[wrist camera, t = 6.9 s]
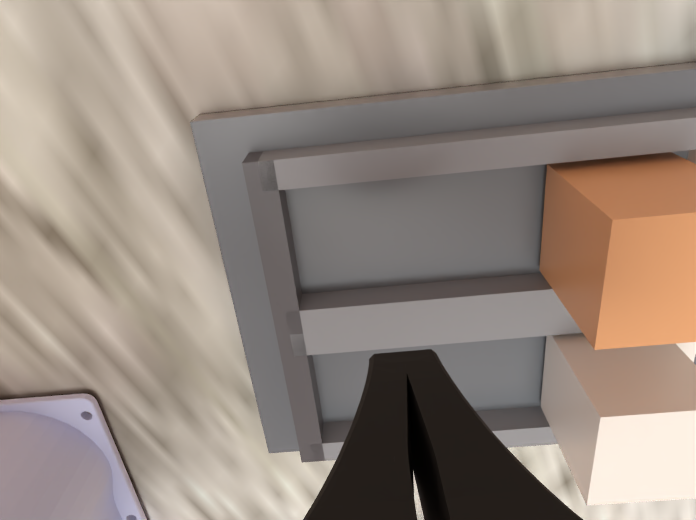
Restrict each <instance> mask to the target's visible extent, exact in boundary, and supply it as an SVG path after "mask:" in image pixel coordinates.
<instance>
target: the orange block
mask: <svg viewBox="0 0 696 520" xmlns="http://www.w3.org/2000/svg"><path fill="white" fill-rule="evenodd" d="M539 270H540V272H541V273H542V275H543V276H544V278H545V279H546V280H547V282H548V283H549V285H550V286H551V288H552V289H553V291H554V292H555V293H556V295H557V296H558V298H559V299H560V301H561V302H562V304H563V305H564V307H565V308H566V309H567V311H568V312H569V314H570V315H571V317H572V318H573V320H574V321H575V322H576V324H577V325H578V327H579V328H580V330H581V331H582V333H583V334H584V335H585V337H586V338H587V340H588V341H589V343H590V344H591V346H592V347H593V348H594V350H601V349H613V348H626V347H638V346H651V345H663V344H675V343H688V342H696V164H695V163H693V162H691V161H689V160H686V159H684V158H682V157H680V156H678V155H676V154H674V153H672V152H666V153H656V154H645V155H635V156H625V157H615V158H605V159H594V160H584V161H574V162H564V163H553V164H547V172H546V186H545V200H544V213H543V227H542V241H541V254H540V268H539Z"/></svg>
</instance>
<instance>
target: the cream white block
mask: <svg viewBox="0 0 696 520" xmlns="http://www.w3.org/2000/svg"><path fill="white" fill-rule="evenodd" d="M541 408H542V410H543V412H544V415H545V417H546V419H547V421H548V423H549V425H550V428H551V430H552V432H553V434H554V436H555V438H556V440H557V443H558V445H559V447H560V449H561V451H562V453H563V455H564V458H565V460H566V462H567V464H568V466H569V468H570V471H571V473H572V475H573V477H574V479H575V481H576V483H577V486H578V488H579V490H580V492H581V494H582V496H583V498H584V501H585V503H586V505H602V504H617V503H632V502H647V501H662V500H677V499H693V498H696V365H695V364H694V363H693V362H692V360H691V359H690V358H689V357H688V356H687V355H686V354H685V353H684V352H683V351H682V350H681V349H680V348H679V347H678V346H677V344H676V343H675V344H663V345H651V346H638V347H626V348H613V349H601V350H594V348H593V347H592V346H591V344H590V343H589V341H588V340H587V338H586V337H585V335H584V334H583V333H574V334H562V335H550V336H546V348H545V360H544V371H543V383H542V395H541Z"/></svg>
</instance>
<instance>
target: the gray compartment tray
mask: <svg viewBox="0 0 696 520" xmlns="http://www.w3.org/2000/svg"><path fill="white" fill-rule="evenodd" d="M190 124H191V128H192V132H193V137H194V141H195V145H196V149H197V153H198V158H199V162H200V166H201V170H202V174H203V179H204V183H205V187H206V191H207V195H208V199H209V204H210V208H211V212H212V216H213V220H214V225H215V229H216V233H217V237H218V241H219V246H220V250H221V254H222V258H223V262H224V267H225V271H226V275H227V279H228V283H229V288H230V292H231V296H232V300H233V304H234V309H235V313H236V317H237V321H238V325H239V330H240V334H241V338H242V342H243V346H244V351H245V355H246V359H247V363H248V367H249V371H250V376H251V380H252V384H253V388H254V392H255V397H256V401H257V405H258V409H259V413H260V418H261V422H262V426H263V430H264V434H265V439H266V443H267V447H268V451H269V453H278V452H292V451H300V455H301V460H302V462H313V461H327V460H336V459H337V457H338V455H339V453H340V450H341V448H342V446H343V444H344V441H345V439H346V437H347V435H348V432H349V430H350V427H351V425H352V422H353V419H354V417H355V414H356V411H357V408H358V405H359V403H360V400H361V397H362V393H363V390H364V386H365V382H366V378H367V373H368V368H369V358H370V357H371V356H372V355H373V354H378V353H390V352H401V351H413V350H425V349H432V350H433V351H434V352H436V353H437V355H438V357H439V359H440V361H441V363H442V364H443V366H444V368H445V369H446V371H447V372H448V374H449V376H450V377H451V379H452V380H453V381H454V383H455V384H456V386H457V387H458V389H459V390H460V392H461V393H462V394H463V396H464V397H465V398H466V400H467V401H468V402H469V404H470V405H471V406H472V407H473V409H474V410H475V411H476V412H477V414H478V415H479V416H480V418H481V419H482V420H483V421H484V422H485V424H486V425H487V426H488V427H489V428H490V430H491V431H492V432H493V433H494V434H495V435H496V437H497V438H498V439H499V440H500V441H501V442H502V443H503V444H504V445H505V447H506V448H508V447H522V446H536V445H550V444H558V443H557V440H556V438H555V436H554V434H553V432H552V430H551V428H550V425H549V423H548V421H547V419H546V417H545V415H544V412H543V410H542V408H541V395H542V383H543V371H544V360H545V348H546V336H550V335H562V334H574V333H582V331H581V330H580V328H579V327H578V325H577V324H576V322H575V321H574V320H573V318H572V317H571V315H570V314H569V312H568V311H567V309H566V308H565V307H564V305H563V304H562V302H561V301H560V299H559V298H558V296H557V295H556V293H555V292H554V291H553V289H552V288H551V286H550V285H549V283H548V282H547V280H546V279H545V278H544V276H543V275H542V273H541V272H540V270H539V268H540V254H541V241H542V227H543V213H544V200H545V186H546V172H547V164H553V163H564V162H574V161H584V160H594V159H605V158H615V157H625V156H635V155H645V154H656V153H666V152H672V153H674V154H676V155H678V156H680V157H682V158H684V159H686V160H689V161H691V162H693V163H695V164H696V62H690V63H681V64H671V65H662V66H653V67H643V68H634V69H624V70H615V71H605V72H596V73H586V74H577V75H567V76H558V77H549V78H539V79H530V80H520V81H511V82H501V83H492V84H482V85H473V86H463V87H454V88H445V89H435V90H426V91H416V92H407V93H397V94H388V95H378V96H369V97H359V98H350V99H341V100H331V101H322V102H312V103H303V104H293V105H284V106H274V107H265V108H255V109H246V110H237V111H227V112H218V113H208V114H199V115H198V116H197V117H196V118H194V119H193V120H192V121H191V122H190ZM676 344H677V346H678V347H679V348H680V349H681V350H682V351H683V352H684V353H685V354H686V355H687V356H688V357H689V358H690V359H691V360H692V362H693V363H694V364H695V365H696V342H688V343H676Z"/></svg>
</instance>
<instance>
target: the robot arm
mask: <svg viewBox="0 0 696 520" xmlns="http://www.w3.org/2000/svg"><path fill="white" fill-rule="evenodd" d="M86 411H87V412H89V413H91V414H89V413H87V412H86ZM413 471H414V475H415V480H416V484H417V488H418V493H419V497H420V502H421V506H422V510H423V515H424V519H425V520H583V519H582V518H580V517H579V516H578V515H577V514H575V513H574V512H573V511H572V510H571V509H569V508H568V507H567V506H566V505H565V504H564V503H563V502H562V501H560V500H559V499H558V498H557V497H556V496H555V495H554V494H553V493H552V492H550V491H549V490H548V489H547V488H546V487H545V486H544V485H543V484H542V483H541V482H540V481H539V480H538V479H537V478H536V477H535V476H534V475H533V474H531V473H530V472H529V471H528V470H527V469H526V468H525V467H524V466H523V465H522V464H521V463H520V462H519V460H518V459H517V458H516V457H515V456H514V455H513V454H512V453H511V452H510V451H509V450H508V449H507V448H506V447H505V445H504V444H503V443H502V442H501V441H500V440H499V439H498V438H497V437H496V435H495V434H494V433H493V432H492V431H491V430H490V428H489V427H488V426H487V425H486V424H485V422H484V421H483V420H482V419H481V418H480V416H479V415H478V414H477V412H476V411H475V410H474V409H473V407H472V406H471V405H470V404H469V402H468V401H467V400H466V398H465V397H464V396H463V394H462V393H461V392H460V390H459V389H458V387H457V386H456V384H455V383H454V381H453V380H452V379H451V377H450V376H449V374H448V372H447V371H446V369H445V368H444V366H443V364H442V363H441V361H440V359H439V357H438V355H437V353H436V352H434V351H433V350H432V349H425V350H413V351H401V352H390V353H378V354H373V355H372V356H371V357H370V358H369V368H368V373H367V378H366V382H365V386H364V390H363V393H362V397H361V400H360V403H359V405H358V408H357V411H356V414H355V417H354V419H353V422H352V425H351V427H350V430H349V432H348V435H347V437H346V439H345V441H344V444H343V446H342V448H341V450H340V453H339V455H338V457H337V459H336V462H335V464H334V466H333V468H332V470H331V472H330V474H329V476H328V477H327V479H326V481H325V483H324V485H323V487H322V489H321V490H320V492H319V494H318V496H317V498H316V499H315V501H314V503H313V504H312V506H311V508H310V509H309V511H308V513H307V514H306V516H305V517H304V519H303V520H417V516H416V509H415V502H414V485H413ZM0 520H147V519H146V516H145V514H144V512H143V509H142V507H141V504H140V502H139V500H138V497H137V495H136V493H135V490H134V488H133V485H132V483H131V481H130V478H129V476H128V473H127V471H126V469H125V466H124V464H123V462H122V459H121V457H120V454H119V452H118V450H117V447H116V445H115V443H114V440H113V438H112V435H111V433H110V431H109V428H108V426H107V424H106V421H105V419H104V416H103V414H102V412H101V409H100V407H99V404H98V402H97V400H96V399H95V398H94V397H93V396H92V395H89V394H84V393H82V394H69V395H57V396H44V397H32V398H19V399H7V400H0Z"/></svg>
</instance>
